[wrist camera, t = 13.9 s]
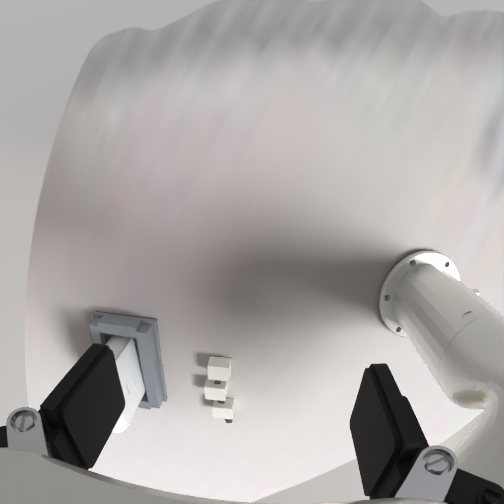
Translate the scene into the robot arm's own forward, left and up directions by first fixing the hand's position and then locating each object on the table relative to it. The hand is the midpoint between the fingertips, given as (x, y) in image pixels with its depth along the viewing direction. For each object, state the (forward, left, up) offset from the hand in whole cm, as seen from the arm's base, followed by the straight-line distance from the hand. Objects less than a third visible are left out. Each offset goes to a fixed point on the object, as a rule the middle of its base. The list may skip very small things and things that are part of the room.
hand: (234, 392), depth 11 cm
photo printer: (+19, +21, -28) cm, 39 cm away
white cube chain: (+5, +25, -28) cm, 38 cm away
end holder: (+19, +21, -28) cm, 40 cm away
